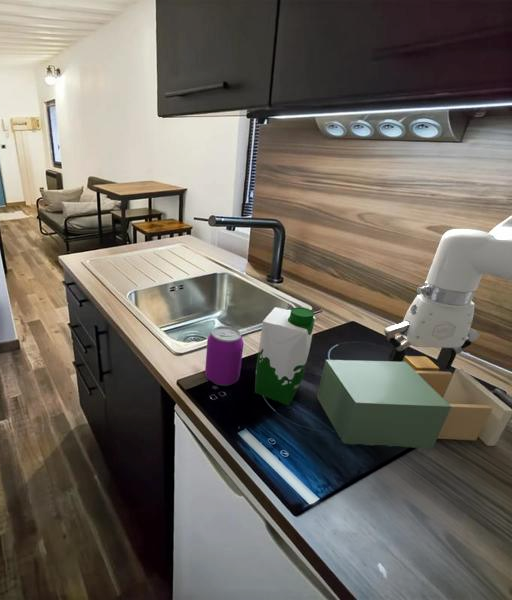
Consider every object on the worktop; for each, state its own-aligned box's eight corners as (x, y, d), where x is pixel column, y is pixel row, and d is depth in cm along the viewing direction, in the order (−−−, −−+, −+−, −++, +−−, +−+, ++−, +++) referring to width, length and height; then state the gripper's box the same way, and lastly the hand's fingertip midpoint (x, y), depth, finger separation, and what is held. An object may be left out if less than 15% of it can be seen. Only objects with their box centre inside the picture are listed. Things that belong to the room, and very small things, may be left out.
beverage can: (210, 389, 81) (213, 343, 76) (201, 368, 88) (203, 325, 83) (244, 386, 81) (250, 341, 76) (232, 366, 88) (237, 323, 83)
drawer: (479, 402, 72) (495, 369, 69) (531, 447, 62) (553, 412, 58) (375, 397, 74) (385, 366, 71) (408, 441, 64) (422, 407, 61)
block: (420, 372, 82) (426, 356, 80) (433, 385, 78) (439, 368, 76) (398, 371, 83) (404, 355, 81) (410, 384, 79) (416, 367, 77)
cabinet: (392, 400, 75) (405, 361, 71) (432, 448, 64) (451, 406, 60) (316, 397, 77) (325, 359, 73) (343, 444, 66) (355, 402, 62)
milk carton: (292, 410, 74) (310, 324, 65) (248, 393, 79) (259, 311, 71) (304, 387, 80) (321, 306, 71) (262, 373, 85) (273, 295, 77)
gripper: (410, 300, 69) (384, 372, 77) (512, 302, 67) (475, 376, 75) (388, 284, 76) (366, 352, 84) (481, 286, 74) (450, 355, 81)
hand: (418, 364), depth 79 cm, fingers open, 9 cm apart
